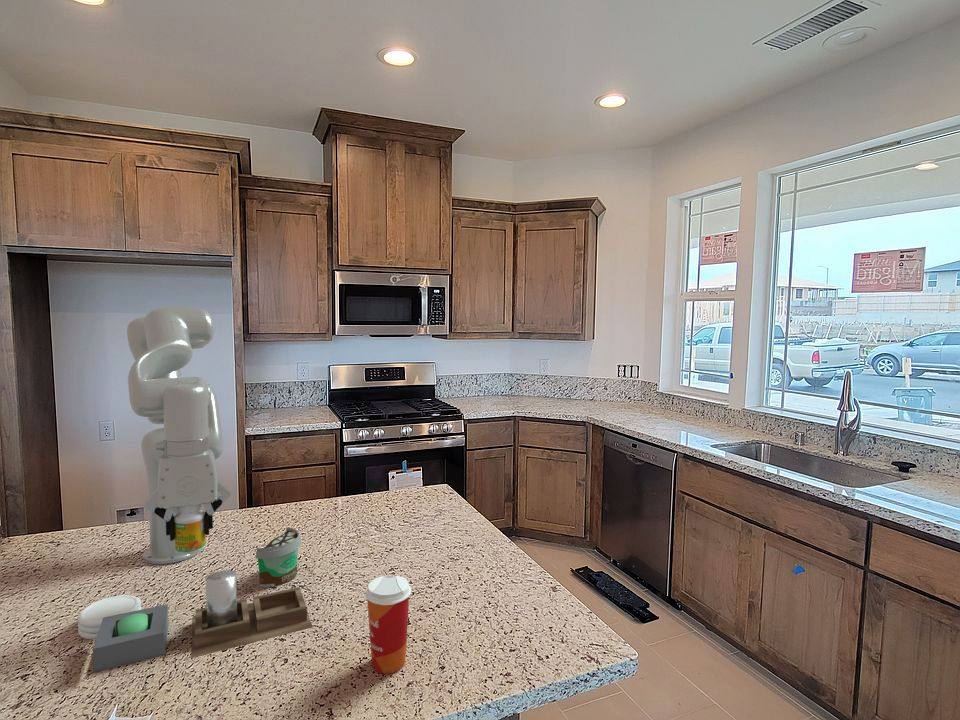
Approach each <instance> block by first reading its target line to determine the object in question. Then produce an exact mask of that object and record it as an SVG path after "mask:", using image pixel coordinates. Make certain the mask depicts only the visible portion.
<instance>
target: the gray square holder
mask: <svg viewBox="0 0 960 720" xmlns="http://www.w3.org/2000/svg"><path fill="white" fill-rule="evenodd" d="M138 613H143V614H146V615H147V616H148V630H144V631H140V632H135V633H131V634H126V635H122V636H118V625H117V624H118V622H119V621H120V620H121V619H123V618H125V617H127V616H129V615H133V614H138ZM169 621H170V620H169V604H168V603H165V604H162V605H161V604H160V605H156V606H151V607H148V608H141V610H137V611H132V612H127V613H122V614H118V615H113V616H108V617H103V620H102V622H101V625H100V628H99V631H98V634H97V637H96V639H94V640H95V641H94V644H93V646H92V664H93V673H98V672H102V671H103V672H104V671H106V670H107V671H108V670H111V669H114V668H118V667H122V666H127V665H131V664H134V663H137V662H143V661H146V660H151V659H153V658H158V657H164V656H165V655H166V650H167V644H168V643H167V642H168V633H169V625H170V622H169Z"/></svg>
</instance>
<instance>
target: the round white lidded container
mask: <svg viewBox="0 0 960 720" xmlns="http://www.w3.org/2000/svg"><path fill="white" fill-rule="evenodd" d="M141 605H142V601H141V599H140V598H139V597H137V596H135V595H131V594H122V595H121V594H120V595H114V596H109V597H106V598H102V599H99V600H97V601H94V602H93V603H91V604H89V605H87V606H86V607H85V608H84V609H82V610H81V611H80V612H79V614H78V616H77V619H76V620H77V633H78V635H79V636H80V637H81V638H83V639H84V640H85V639H86V640H96V637H97V634H98V631H99V628H100V625H101V622H102V620H103V617H108V616H113V615H118V614H122V613H127V612H132V611H137V610H142V606H141Z"/></svg>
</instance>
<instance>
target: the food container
mask: <svg viewBox="0 0 960 720" xmlns="http://www.w3.org/2000/svg"><path fill="white" fill-rule="evenodd" d="M301 546H302V537H301V535H300V533H299V531H298V530H297V529H295V528H291V527H286V529H285V532H283V533H282V534H281V535H279V536H277V537H275V538H273V539H272V540H271V541H270V542H269V543H268V544H266V545H265V546H264V547H256V551H255V559H257V566H258V575H259V584H260V588H272V587H273V588H274V587H277V586H282V585H284V584H287V583H289V582H291V581H293V579H295V578H296V576H297V574H298V562H299V561H298V559H299V548H300V547H301Z"/></svg>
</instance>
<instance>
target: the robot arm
mask: <svg viewBox="0 0 960 720" xmlns="http://www.w3.org/2000/svg"><path fill="white" fill-rule="evenodd" d="M214 336H215V323H214V320H213V317H212V315H211V314H210V312H208V311H207V310H206V309H205V308H204V309H203V308H200V307H199V308H197V307H192V308H191V307H160V308H156V309H153V310H150V311H149V312H148V313H147V314H146V316H144V317H143V316H142V317H138V318H135V319H133V320H131V321H130V322H129V323H128V325H127V328H126V338H127V341H128V347H129V350H130V352H131V354H132V357H133V359H134V360H135V361H134V362H133V364H132V365H131V367H130V369H129V372H128V376H127V377H128V378H127V386H128V395H129V398H128V399H129V403H130V407H131V409H132V411H133V413H134V414H135V415H137V416H138V417H141V418H147V420H148V421H149V422H150V423H152V424H155V425H163V427H160V428H155V429H153V430H150V431H149V432H147V433H145V435H144V436H143V438H142V440H141V448H140V449H141V454H142V458H143V459H142V460H143V463H144V467H145V472H146V482H147V484H146V485H147V499H146V501H145V502H144V505H143V507H144V508H145V509H147V510H148V521H149V544H150V547H148V548H147V549H145V551H144V552H143V554H142V555H143V557H142V559H143V561H144V562H145V563H148V564H151V565H167V564H175V563H179V562H182V561H185V560H188V559H190V558H193V557H195V556H196V555H197V554H199V553H200V552H201V551H199V552H197V553H193V554H187V555H181V554H178V553H176V551H175V532H174V517H175V515H176V514H177V513H178V507H186V506H193V505H200V504H201V505H203V507H204V509H205V511H204V513H205V536H210V530H211V529H213V528H214V524H213V523H214V522H213V521H214V519H213V518H214V517H213V515H215V512H216V511H218V509H219V508H220V507H221V506H222V505H223V503H225V502H226V501H227V500H228V499H229V498H230V497H231V496H232V492H231V491H230V489H229V488H227V487H226V486H225V485H224V484H223V483H221V482H220V481H219V480H218V474H217V472H218V471H217V465H216V464H217V463H216V460H217V459H219V458H220V457H221V456H222V454H223V451H224V440H223V430H222V423H221V417H220V410H219V403H218V398H217V394H216V392H215V390H214V388H212V386H210V384H209V383H208V382H207V380H205V379H204V378H202V377H198V376H197V377H196V376H185V377H182V373H181V369H183V368H184V367H186V366H187V365H188V364H189V363H190V361H191V360H192V358H193V356H194V355H193V353H194V352H193V350H196V349H198V350H199V349H202V348H204V347H205V346H207V345H209V344H210V342H211V341H212V340H213V338H214ZM218 494H220V495H219V496H218Z"/></svg>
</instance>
